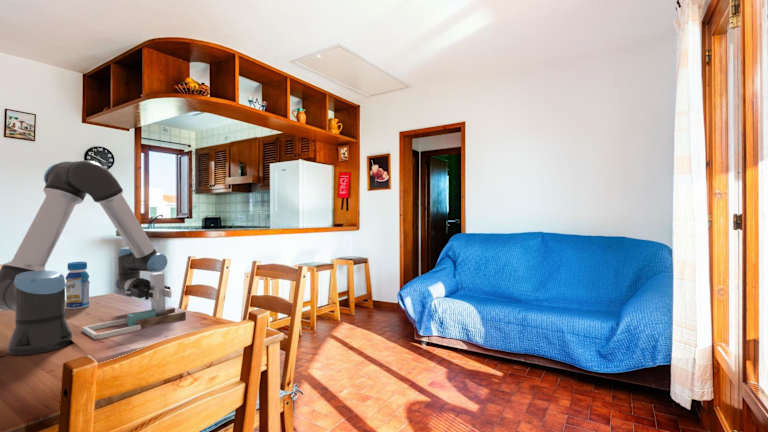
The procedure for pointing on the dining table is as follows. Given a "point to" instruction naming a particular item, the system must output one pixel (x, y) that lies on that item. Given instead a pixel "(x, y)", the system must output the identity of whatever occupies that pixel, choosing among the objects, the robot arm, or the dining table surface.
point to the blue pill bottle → (77, 286)
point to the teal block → (149, 314)
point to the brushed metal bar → (159, 286)
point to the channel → (162, 318)
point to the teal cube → (134, 318)
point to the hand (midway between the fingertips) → (164, 295)
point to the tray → (94, 335)
